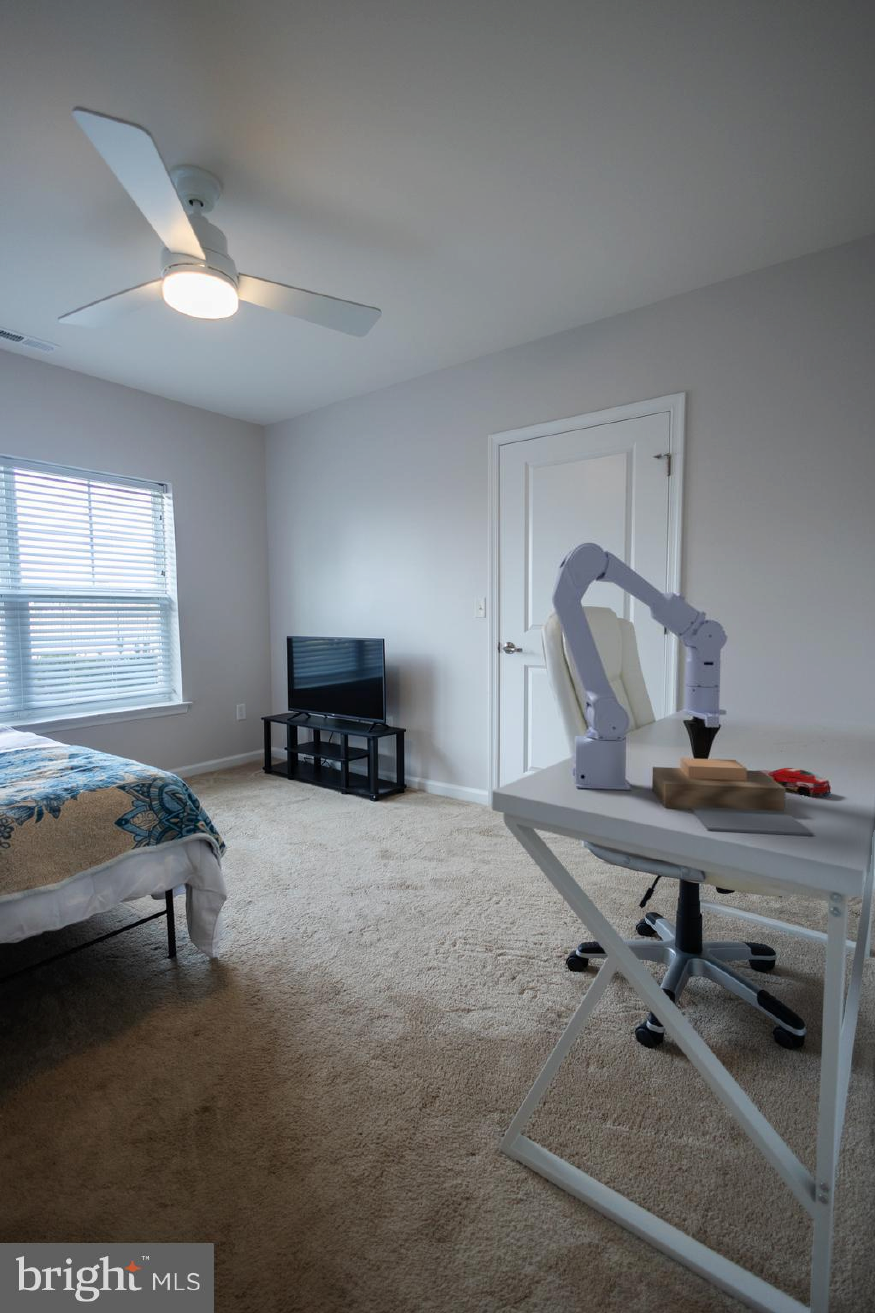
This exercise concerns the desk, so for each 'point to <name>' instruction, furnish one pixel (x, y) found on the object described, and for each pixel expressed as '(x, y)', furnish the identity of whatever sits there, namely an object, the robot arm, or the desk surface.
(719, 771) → the tan wooden block
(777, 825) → the mat
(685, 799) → the brown wooden flat block
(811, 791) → the race car
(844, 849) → the desk surface
